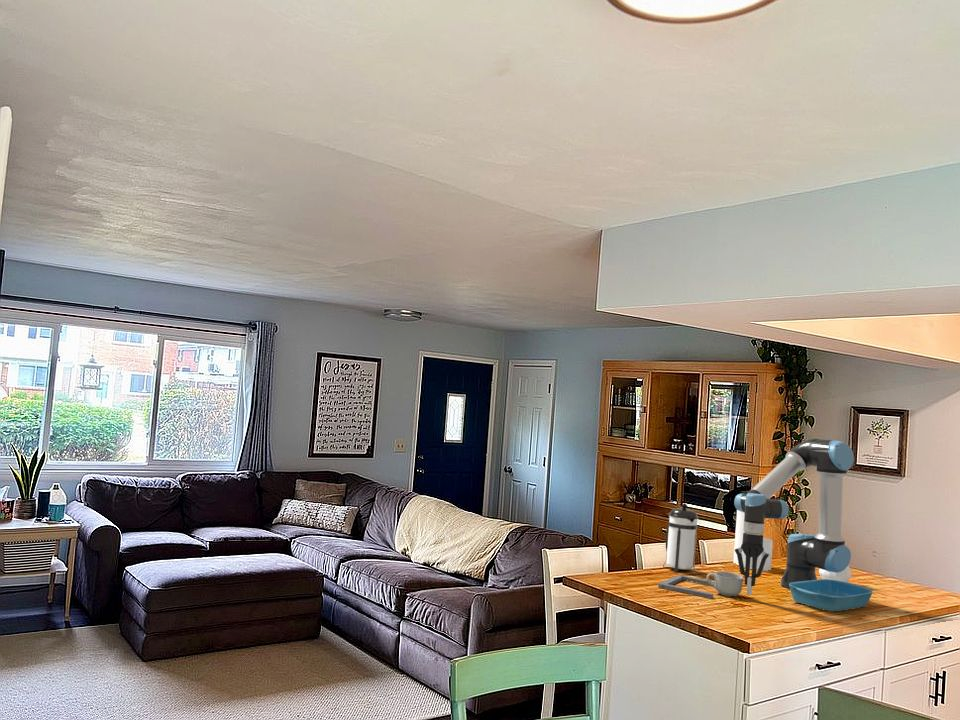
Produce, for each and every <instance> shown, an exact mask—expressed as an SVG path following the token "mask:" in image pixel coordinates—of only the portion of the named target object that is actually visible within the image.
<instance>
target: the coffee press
mask: <svg viewBox="0 0 960 720" xmlns="http://www.w3.org/2000/svg"><path fill="white" fill-rule="evenodd" d="M681 507H682V508H680V507H679V508H673V509H671V511H670V512H669V513H668V516H669V521H668V522H667V525H666V533H665V535H666V537H665V551H666V555H665V556H666V557H665V562H664V564H663V565H662V567H663V568H664V569H665V568H667V567H671V568H673V569H674V570H673V572H674V571H675V572H674V573H676V572H677V571H678V572H679V570H689V571H691V572H692V571H693V572H696V573H697V572H698V571H697V569H696V567H695V560H696V559H695V558H696V550H697V549H696V547H697V545H696V544H697V532H698V520H699V516H698V514H697V512H696V511H694V510H693V509H689V508H688V504H687V503H685V502H684V503H682V505H681ZM665 564H666V566H665ZM693 569H694V570H695V571H694V570H693ZM678 572H677V573H678Z"/></svg>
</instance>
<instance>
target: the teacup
mask: <svg viewBox="0 0 960 720" xmlns="http://www.w3.org/2000/svg"><path fill="white" fill-rule="evenodd" d="M710 577H713V579H714V582H715V584H714V583H712V582H711V581H712V580H710ZM706 580H707V581H708V582H709V583H710V584H711V585H712V586H711V587H712V588H713V589H715V590H716V591H717V592H718V594H719V595H722V596H725V597H731V596H734V597H737V596H738V595H740V593H741V592H742V590H743V584H744V576H743V575H742V574H741V575H740V573H739V574H738V573H734V572H729V571H722V570H721V571H720V570H719V571H716V572H715V573H712V572H709V573H708V574H707V575H706Z"/></svg>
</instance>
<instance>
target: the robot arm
mask: <svg viewBox="0 0 960 720" xmlns="http://www.w3.org/2000/svg"><path fill="white" fill-rule="evenodd" d="M854 456H855V455H854V452H853V450H852V448H851V447H850V445H849V444H848V443H846V442H845V441H840V440H837V439H835V440H834V439H833V440H832V439H822V438H821V439H820V438H809V439H807V440H804V441H802V442H800V443H798V444H797V445H794V446H793V447H792V448H791V449H790V450H789V451H788V452H786V454H785V458H784V459H783V460H782V461H780V462H779V463H778V464H777V465H776V466H775V467H774V468H772V470H771V471H769V472H768V473H767V474H766V475H765V476H764V477H763V478H762V479H761V480H760V481H759V482H758V483H756V484H755V485H754V486H753V487H752V488H751V489H750V490H749V491H748V492H747V493H739V494H737V495H735V498H734V500H733V501H734V502H733V503H734V504H733V505H734V507H735V509H736V511H737V510H739V511H741V512H744V513H745V515H744V529H743V531H744V532H745V533H743V543H742V545H741V547H740V548H737V549H735V552H736V554H737V557H738V563H739V567H738V569H739V575H740V574H741V576H743V577H744V586H746V595H749V596H751V595H753V594H752V593H753V587H755V586H756V580H757V579H756V578H760V577H761V576H762V573H763V571H762V570H763V567H764V564H765V562H766V559H767V558H768V557H769V554H768V553H766V552H765V551H764V548H763V537H764V535H763V534H764V531H765V519H769V520H770V519H771V520H772V519H774V520H781V519H782V520H784V519H785V518H787V516H789V509H790V507H789V505H788V503H787V502H786V501H785V500H783V499H773V498H772V497H773V496H774V495H775V494H776V493H777V492H778V491H779V490H780V489H781V488H783V487H784V486H785V485H786V484H787V483H788V482H789V481H790V480H791V479H792V478H793V477H794V476H795V475H796V474H797V473H798V472H802V471H804V470H805V469H806V468H808V467H816V473H817V474H818V475H819V476H820V477H819V478H820V479H819V501H818V507H819V508H818V533H816V534H808V533H807V534H805V533H791V534H789V536H788V540H787V548H786V549H787V550H786V567H785V570H784V573H783V575H782V577H781V580H780V585H781V587H783V588H787V589H789V590H790V587H789V583H793V582H801V581H810V580H818V578H817V577H818V576H817V573H816V568H817V569H823V570H827V571H829V572H836V573H839V572H842V571H843V570H845V569H846V567H847V566H848V565H849V566H850V563H851V559H852V552H851V550H850V548H849V547H848V546H847V545H846V543H845V542H846V540H845V538H844V537H843V536H842V510H843V481H844V479H843V478H844V477H845V476H846V475H847V474H848V470H850V469H851V468H852V467H853V464H854V461H855V457H854ZM771 498H772V499H771ZM742 550H743V552H744V554H745V555H746V565H745V569H744V565H743V559H742V554H741V553H742ZM761 553H762V557H763V558H762V560H761V563H760V566H759V569H758V571H756V569H757V558H758V557H759V555H760V554H761ZM751 557H752V560H753V561H752V570H750V559H751ZM750 572H751V576H750Z"/></svg>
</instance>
